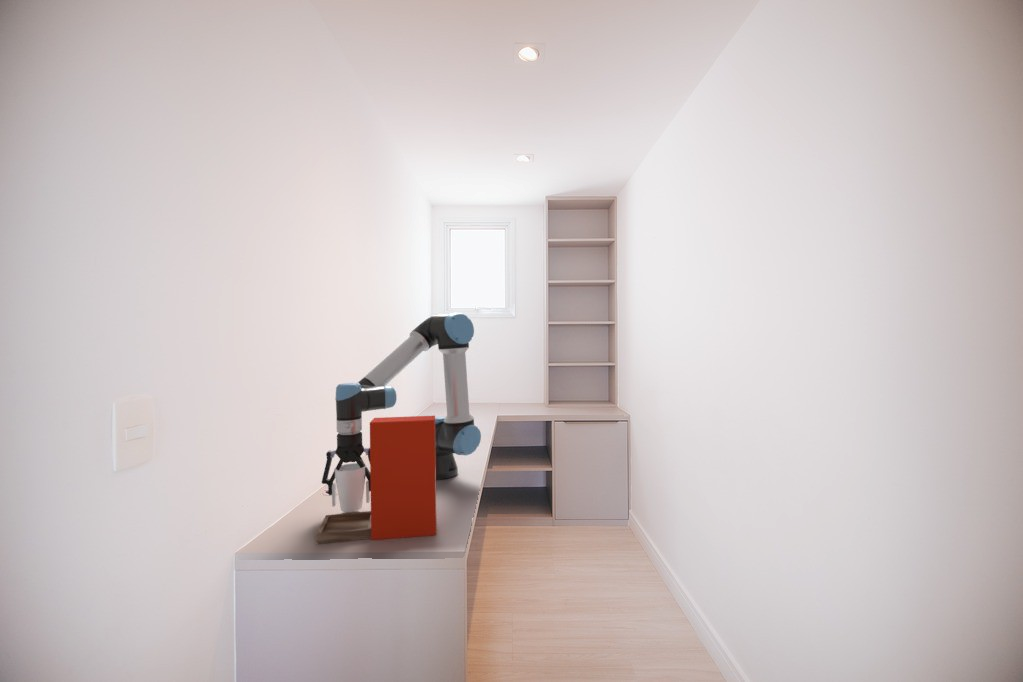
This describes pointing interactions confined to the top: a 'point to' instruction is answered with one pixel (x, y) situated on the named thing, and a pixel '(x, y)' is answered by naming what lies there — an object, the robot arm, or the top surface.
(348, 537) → the square wooden tray
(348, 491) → the foam cup
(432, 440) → the file binder
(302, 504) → the top surface
